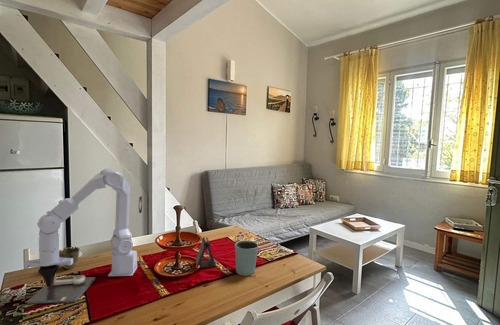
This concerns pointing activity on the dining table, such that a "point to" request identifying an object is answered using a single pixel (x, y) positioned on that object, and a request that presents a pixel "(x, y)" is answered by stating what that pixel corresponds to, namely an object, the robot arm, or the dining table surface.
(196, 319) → the dining table surface
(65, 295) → the lock base
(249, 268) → the green tumbler
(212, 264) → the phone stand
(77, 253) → the cup
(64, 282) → the lever
